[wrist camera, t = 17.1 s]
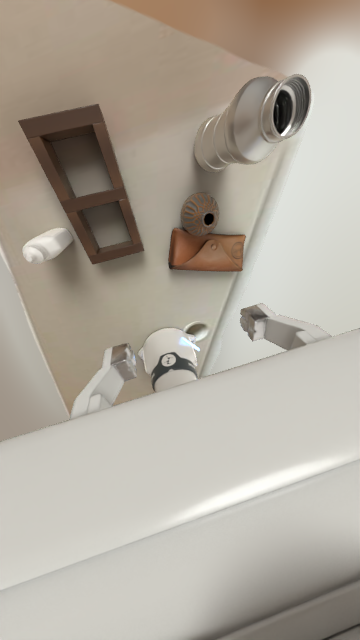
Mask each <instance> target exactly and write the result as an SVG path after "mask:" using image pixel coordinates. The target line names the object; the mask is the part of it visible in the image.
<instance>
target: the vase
mask: <svg viewBox="0 0 360 640" xmlns="http://www.w3.org/2000/svg"><path fill="white" fill-rule="evenodd" d="M218 219H219V209H218V205H217V203H216V201H215V200H214V199H213V198H212V197H211V196H210V195H208V194H205V193H196V194H193V195H191V196H190V197H189V198H188V199H187V200H186V201H185V202H184V204H183V206H182V210H181V221H182V224H183V226H184V228H185V229H186V230H187V231H188V232H189V233H190V234H192V235H195V236H203V235H206V234H208V233H210V232H211V231H212V230H213V229H214V228H215V226H216V225H217V222H218Z"/></svg>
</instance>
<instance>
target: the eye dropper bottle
mask: <svg viewBox="0 0 360 640" xmlns="http://www.w3.org/2000/svg"><path fill="white" fill-rule="evenodd" d="M72 241H73V237H72V236H71V234H70V233H69V231H68V230H67V229H65V228H55V229H51V230H49V231H47V232H45V233H43V234H41V235H39V236H37V237H35V238H33V239H31V240H30V241H28V242H27V243H26V244H25V245H24V247H23V254H24V257H25V258H26V260H27V261H29V262H31V263H34V264H40V263H42V262H44V261H48V260H51V259H53V258H55V257H56V256H57V255H59V254H60V253H61V252H62V251H63V250H64V249H65V248H66V247H67V246H69V245H70V244H71V242H72Z"/></svg>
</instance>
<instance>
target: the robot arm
mask: <svg viewBox="0 0 360 640" xmlns="http://www.w3.org/2000/svg"><path fill="white" fill-rule="evenodd" d="M240 314H241V315H242V317H241V318H240V323H241V327H242V328H243V330H244V331H246V332H248V336H249V337H250V339H251V340H252V341H256V340H260V339H263V338H264V339H266V340H268V341H270V342H272V343H274V344H276V345H278V346H280V347H282V348H284V349H286V350H288V351H285V352H282V353H279V354H276V355H273V356H269V357H266V358H263V359H260V360H257V361H254V362H250V363H247V364H244V365H241V366H238V367H234V368H231V369H228V370H225V371H222V372H219V373H216V374H212V375H209V376H206V377H203V378H200V379H197V372H196V369H195V366H197V358H196V355H195V349H197V350H198V351H199V348H198V347H196V346H195V341H196V338H195V336H194V335H192V334H187V333H185V332H183V331H182V330H179V329H176V328H165V329H161V330H158V331H156V332H154V333H153V334H151V335H150V336H149V337H148V338H147V340H146V341H145V344H144V346H143V347H142V348H141V349H140V350H139V352H138V356H139V357H140V358H141V359H142V360H143V361H144V365H145V371H146V372H147V373H148V374H149V375H150V376H151V382H152V386H153V389H154V391H155V393H152V394H149V395H146V396H143V397H140V398H136V399H133V400H130V401H127V402H124V403H121V404H118V405H114V406H112V405H113V403H114V401H115V400H116V398H117V396H118V394H119V392H120V390H121V388H122V386H123V384H124V381H127V380H130V379H133V378H136V377H137V374H136V368H135V365H136V358H135V355H134V352H133V351H132V350H130V345H129V343H126V344H122V345H118V346H114V347H111V348H108V349H106V350H105V352H104V358H103V364H102V368H101V369H99V370H98V372H97V373H96V374H95V375H94V377H93V378H92V379H91V380H90V382H89V383H88V384H87V385H86V387H85V388H84V389H83V390H82V392H81V393H80V394H79V395H78V397H77V398H76V399H75V400H74V404H73V407H72V411H71V415H70V419H69V420H67V421H64V422H61V423H58V424H54V425H51V426H48V427H45V428H42V429H39V430H36V431H33V432H29V433H26V434H23V435H20V436H16V437H13V438H10V439H6V440H3V441H0V640H360V328H358V329H355V330H351V331H348V332H346V333H342V334H339V335H336V336H333V337H332V336H331V335H330V334H328V333H327V332H326V331H324V330H323V329H321V328H320V327H319V326H317V325H314V324H311V323H307V322H303V321H300V320H296V319H293V318H289V317H285V316H282V315H276V314H275V313H274V312H273V311H272V310H270V309H269V308H268V307H267V306H266V305H265V304H263V303H260V304H257V305H254V306H251V307H247V308H244V309H241V313H240Z"/></svg>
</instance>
